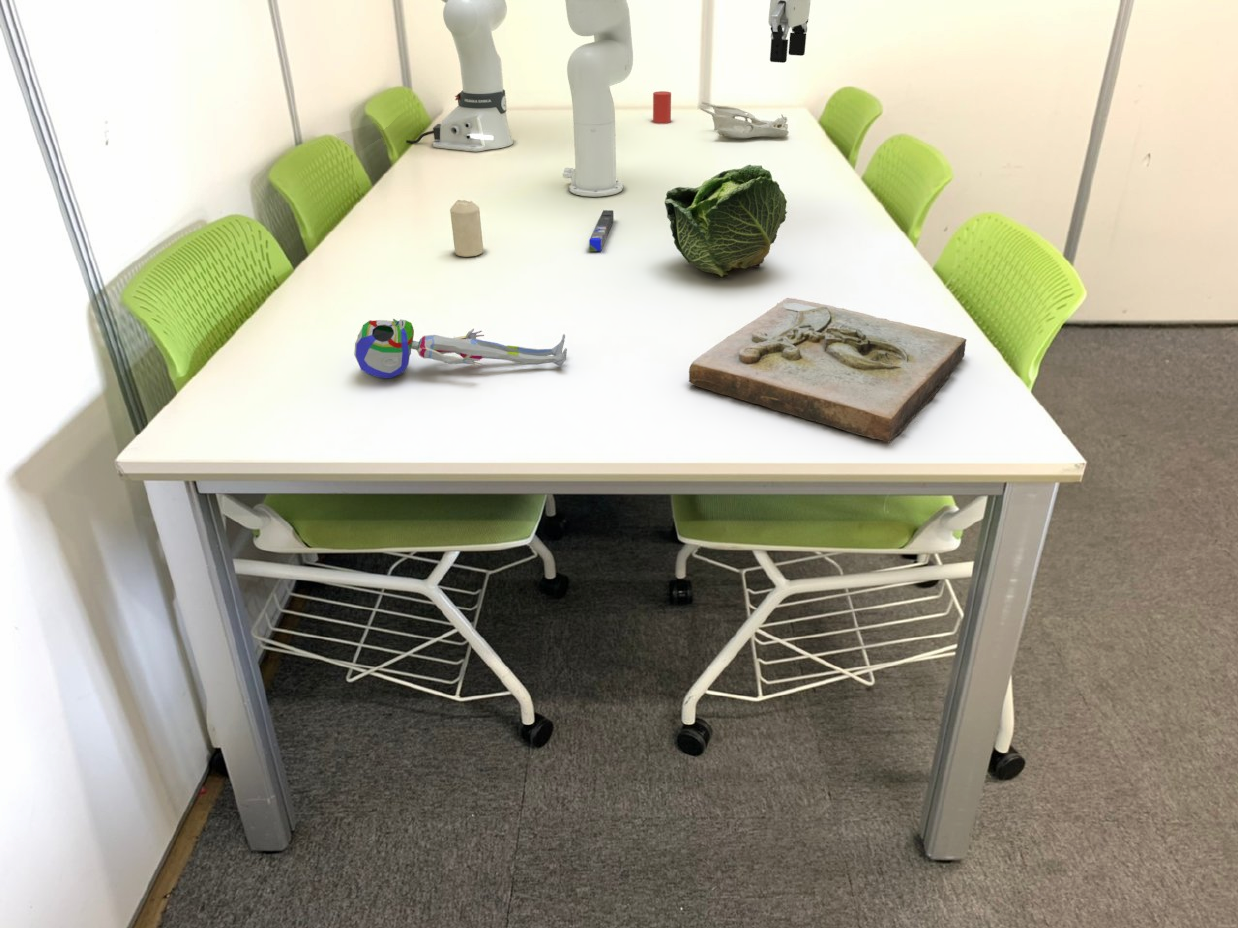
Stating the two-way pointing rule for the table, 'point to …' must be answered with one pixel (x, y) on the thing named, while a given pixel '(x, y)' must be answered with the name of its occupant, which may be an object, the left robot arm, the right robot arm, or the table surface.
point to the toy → (435, 349)
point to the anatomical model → (744, 123)
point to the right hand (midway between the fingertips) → (787, 58)
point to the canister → (662, 107)
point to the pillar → (601, 230)
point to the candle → (466, 228)
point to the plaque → (832, 366)
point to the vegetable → (727, 219)
